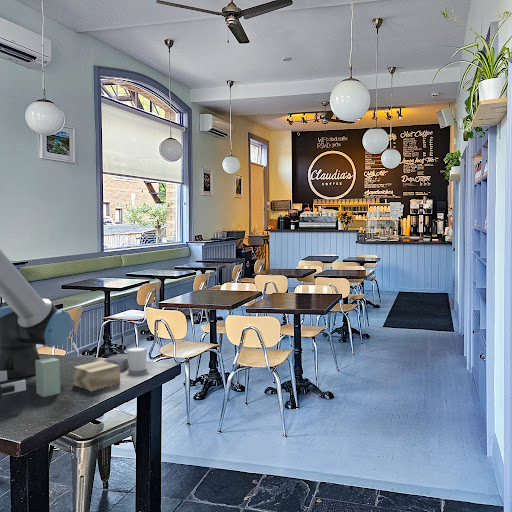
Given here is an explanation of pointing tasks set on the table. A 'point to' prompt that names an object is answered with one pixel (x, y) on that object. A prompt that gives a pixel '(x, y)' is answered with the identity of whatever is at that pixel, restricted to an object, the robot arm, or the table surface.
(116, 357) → the stone block
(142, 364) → the white cup
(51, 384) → the sage block
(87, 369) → the oak block
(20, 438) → the table surface
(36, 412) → the table surface
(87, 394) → the table surface
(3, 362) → the robot arm
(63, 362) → the table surface
